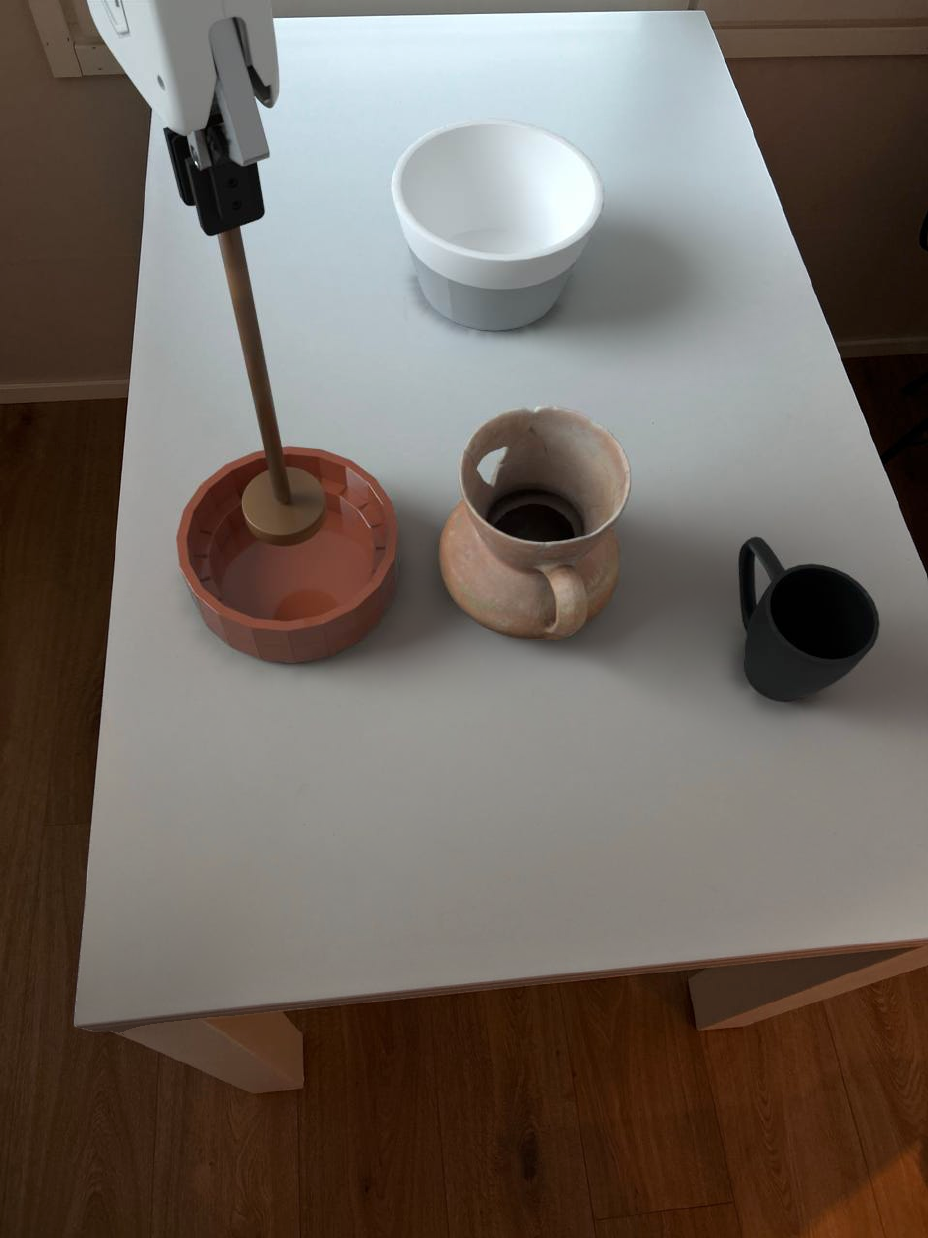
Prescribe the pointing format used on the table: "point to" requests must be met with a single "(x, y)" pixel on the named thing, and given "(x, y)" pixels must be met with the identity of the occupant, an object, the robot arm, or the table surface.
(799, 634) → the mug
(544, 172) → the bowl
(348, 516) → the mixing bowl
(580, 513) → the ceramic jug
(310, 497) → the wooden dowel plunger
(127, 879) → the table surface
